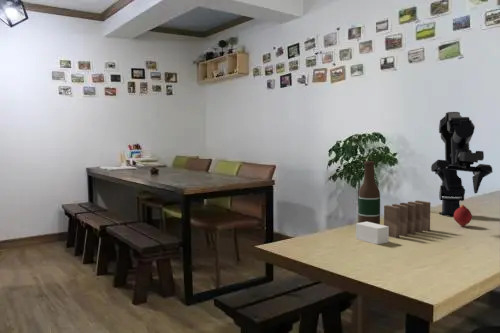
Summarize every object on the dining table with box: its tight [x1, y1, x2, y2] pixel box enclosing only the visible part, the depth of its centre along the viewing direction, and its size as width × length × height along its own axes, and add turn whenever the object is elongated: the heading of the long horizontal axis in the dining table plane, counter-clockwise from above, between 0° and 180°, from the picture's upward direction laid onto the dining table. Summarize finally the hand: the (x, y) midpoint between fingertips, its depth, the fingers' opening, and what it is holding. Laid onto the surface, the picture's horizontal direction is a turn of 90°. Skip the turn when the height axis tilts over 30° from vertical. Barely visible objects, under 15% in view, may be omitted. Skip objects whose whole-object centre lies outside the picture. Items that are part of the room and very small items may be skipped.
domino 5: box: [414, 200, 431, 232], centre depth 146 cm, size 2×5×10 cm, turn 32°
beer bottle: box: [357, 160, 381, 225], centre depth 152 cm, size 8×8×24 cm
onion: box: [453, 203, 473, 227], centre depth 150 cm, size 6×6×8 cm
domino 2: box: [391, 203, 408, 237], centre depth 140 cm, size 2×5×10 cm, turn 32°
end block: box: [355, 222, 390, 245], centre depth 133 cm, size 5×9×5 cm, turn 32°
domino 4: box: [407, 201, 424, 234], centre depth 144 cm, size 2×5×10 cm, turn 31°
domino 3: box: [399, 202, 416, 236], centre depth 142 cm, size 2×5×10 cm, turn 32°
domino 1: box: [383, 204, 400, 239], centre depth 138 cm, size 2×5×10 cm, turn 32°
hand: (462, 191), depth 143 cm, fingers open, 9 cm apart
